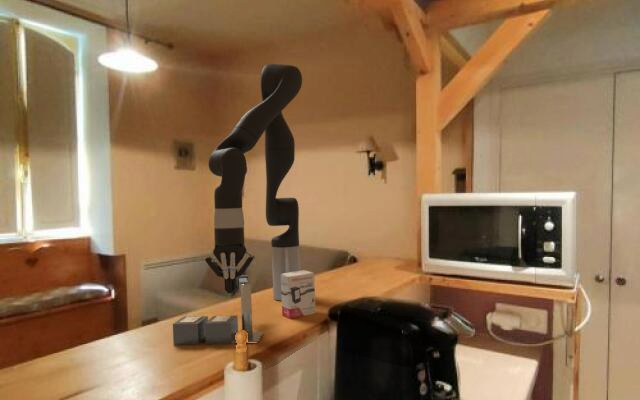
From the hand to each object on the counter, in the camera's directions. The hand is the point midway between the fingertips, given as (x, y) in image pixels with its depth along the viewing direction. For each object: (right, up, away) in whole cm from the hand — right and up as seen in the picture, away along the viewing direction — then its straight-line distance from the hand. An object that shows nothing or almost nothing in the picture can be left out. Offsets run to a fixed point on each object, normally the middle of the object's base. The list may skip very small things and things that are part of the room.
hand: (231, 292), depth 105 cm
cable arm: (+3, 0, 0) cm, 3 cm away
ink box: (+17, -9, +10) cm, 22 cm away
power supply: (0, -9, -9) cm, 13 cm away
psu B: (-7, -10, -9) cm, 15 cm away
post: (+6, -9, -10) cm, 14 cm away
